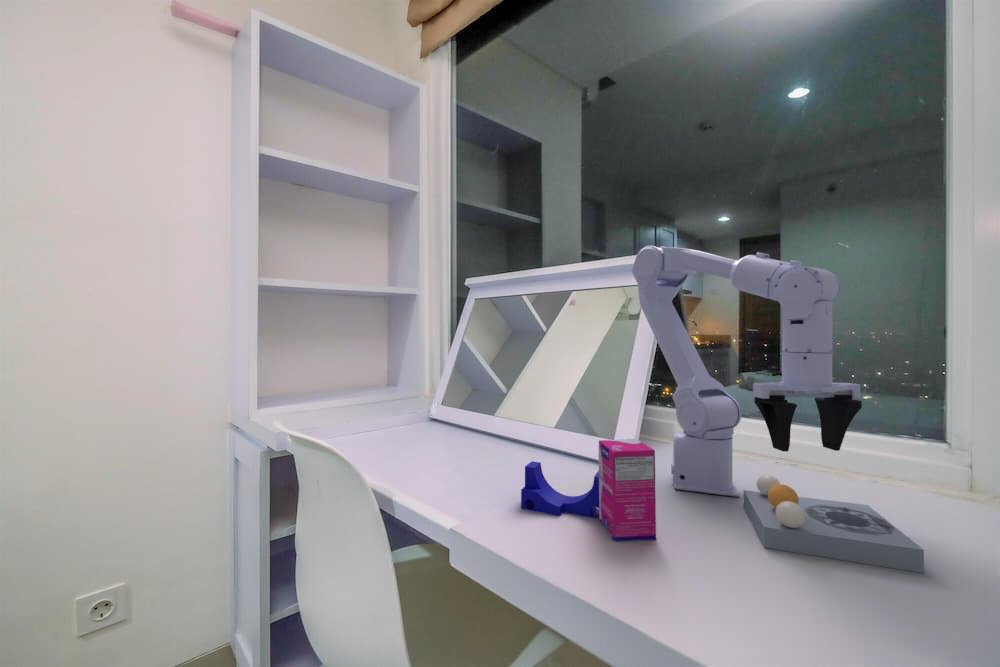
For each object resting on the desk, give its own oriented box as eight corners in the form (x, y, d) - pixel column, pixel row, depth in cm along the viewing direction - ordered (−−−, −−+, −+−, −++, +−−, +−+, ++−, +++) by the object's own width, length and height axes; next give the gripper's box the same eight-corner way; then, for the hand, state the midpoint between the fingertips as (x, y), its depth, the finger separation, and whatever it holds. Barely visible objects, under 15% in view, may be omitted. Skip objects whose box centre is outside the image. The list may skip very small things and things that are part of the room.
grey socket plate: (764, 547, 51) (764, 526, 51) (743, 506, 63) (743, 490, 63) (924, 572, 45) (923, 549, 45) (867, 523, 57) (867, 504, 57)
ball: (771, 513, 54) (771, 487, 54) (764, 503, 58) (765, 479, 58) (802, 517, 53) (802, 491, 53) (794, 507, 56) (794, 482, 56)
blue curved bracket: (521, 509, 62) (521, 469, 62) (531, 499, 66) (531, 461, 66) (602, 525, 57) (602, 481, 57) (608, 513, 61) (608, 471, 61)
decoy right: (779, 530, 50) (779, 504, 50) (772, 519, 53) (772, 496, 53) (809, 534, 49) (809, 508, 49) (801, 523, 51) (801, 499, 52)
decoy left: (759, 498, 60) (759, 477, 60) (754, 490, 62) (754, 470, 62) (783, 501, 59) (783, 479, 59) (777, 493, 61) (777, 473, 61)
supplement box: (597, 521, 57) (597, 438, 58) (638, 520, 58) (638, 438, 58) (612, 542, 52) (612, 450, 52) (658, 540, 52) (658, 449, 52)
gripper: (779, 353, 54) (779, 458, 54) (882, 353, 55) (881, 456, 55) (743, 351, 61) (742, 444, 61) (835, 351, 62) (834, 442, 62)
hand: (806, 449), depth 58 cm, fingers open, 7 cm apart
